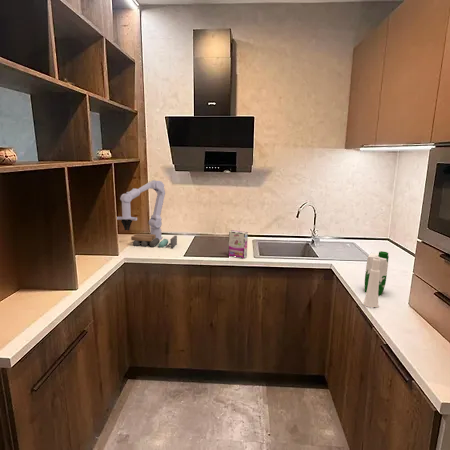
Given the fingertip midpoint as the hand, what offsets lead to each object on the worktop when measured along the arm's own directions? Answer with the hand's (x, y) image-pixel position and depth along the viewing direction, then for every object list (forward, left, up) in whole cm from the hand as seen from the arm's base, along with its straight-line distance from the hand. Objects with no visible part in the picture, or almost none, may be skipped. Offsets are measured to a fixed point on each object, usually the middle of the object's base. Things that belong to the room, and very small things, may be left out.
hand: (127, 230), depth 233 cm
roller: (0, +28, -9) cm, 29 cm away
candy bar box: (+15, +80, -10) cm, 82 cm away
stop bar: (0, +34, -10) cm, 35 cm away
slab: (0, +12, -6) cm, 13 cm away
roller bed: (0, +18, -10) cm, 21 cm away
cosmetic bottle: (+75, +144, -10) cm, 163 cm away
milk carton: (+59, +150, -10) cm, 162 cm away
